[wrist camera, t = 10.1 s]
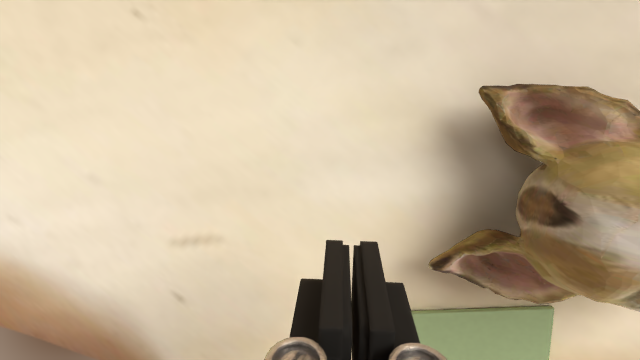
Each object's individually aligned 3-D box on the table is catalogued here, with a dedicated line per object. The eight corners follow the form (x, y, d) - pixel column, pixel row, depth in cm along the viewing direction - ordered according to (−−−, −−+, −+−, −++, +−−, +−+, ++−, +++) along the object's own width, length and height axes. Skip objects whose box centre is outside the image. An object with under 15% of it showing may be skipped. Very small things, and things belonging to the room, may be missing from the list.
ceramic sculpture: (907, 474, 11) (447, 364, 13) (681, 304, 19) (418, 250, 21) (1231, 169, 8) (550, 69, 9) (790, 120, 16) (467, 72, 17)
